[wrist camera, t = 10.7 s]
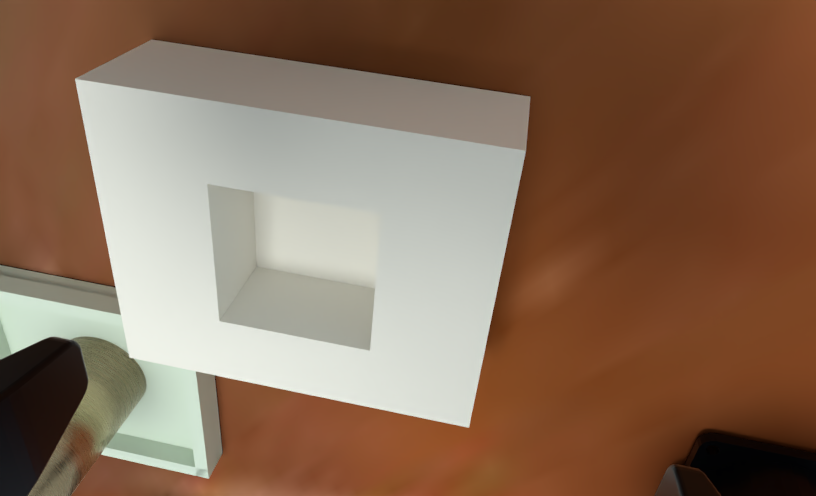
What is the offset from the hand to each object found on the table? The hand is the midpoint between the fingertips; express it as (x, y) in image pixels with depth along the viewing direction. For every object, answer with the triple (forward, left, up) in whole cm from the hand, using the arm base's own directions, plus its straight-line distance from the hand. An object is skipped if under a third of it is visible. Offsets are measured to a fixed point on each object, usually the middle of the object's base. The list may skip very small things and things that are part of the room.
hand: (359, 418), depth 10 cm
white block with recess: (+4, +4, -12) cm, 14 cm away
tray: (+14, +14, -12) cm, 23 cm away
